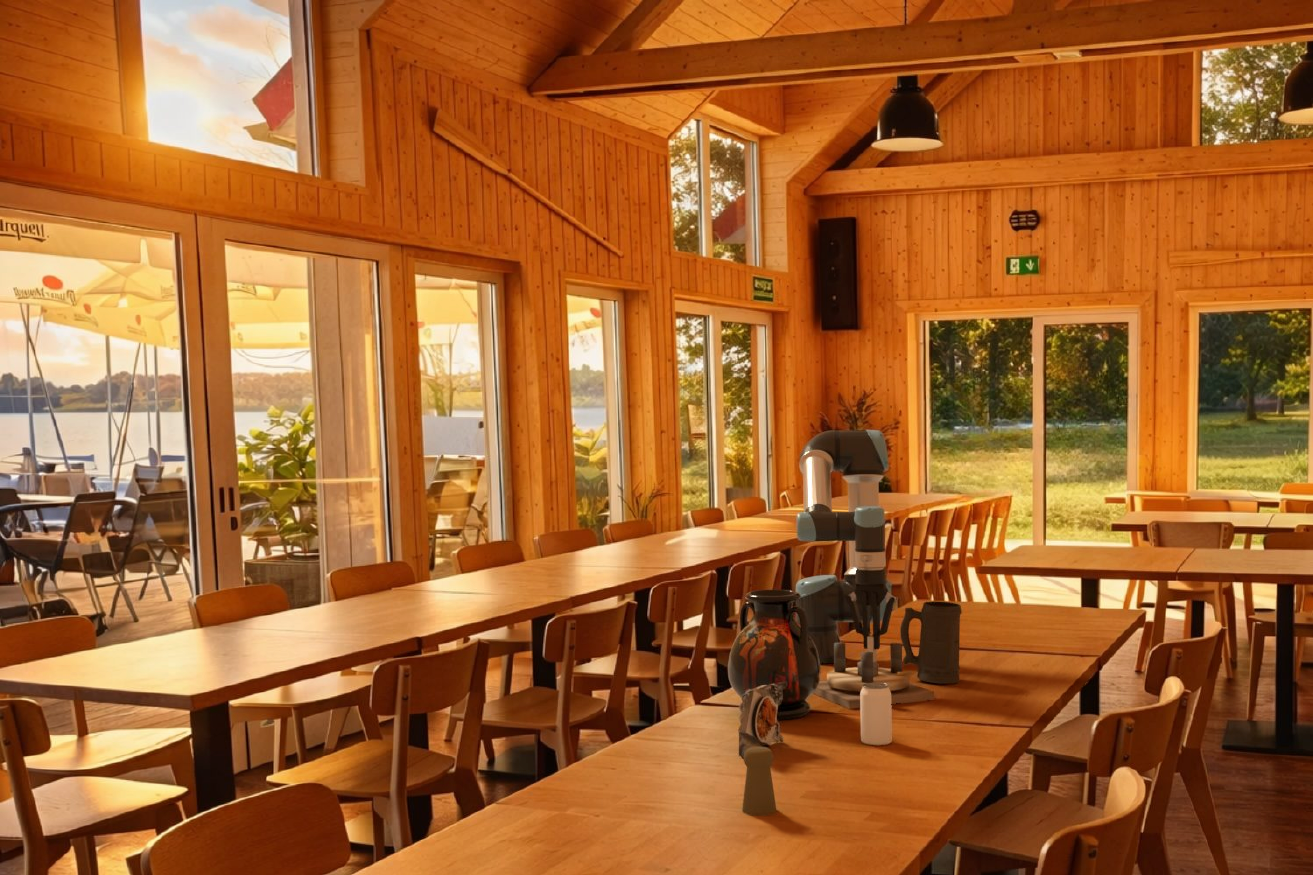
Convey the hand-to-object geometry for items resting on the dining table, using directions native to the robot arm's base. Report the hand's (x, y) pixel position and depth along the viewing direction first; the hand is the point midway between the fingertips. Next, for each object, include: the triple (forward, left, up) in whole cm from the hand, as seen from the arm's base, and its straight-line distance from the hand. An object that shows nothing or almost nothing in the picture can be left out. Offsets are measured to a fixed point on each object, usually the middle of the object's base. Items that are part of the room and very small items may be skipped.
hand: (872, 661), depth 325 cm
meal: (+43, -50, -7) cm, 66 cm away
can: (+47, -26, -7) cm, 54 cm away
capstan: (+6, -4, -4) cm, 9 cm away
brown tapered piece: (+80, -68, -7) cm, 105 cm away
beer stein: (-2, +18, -7) cm, 20 cm away
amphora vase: (+14, -34, -7) cm, 37 cm away
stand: (+6, -5, -7) cm, 10 cm away
